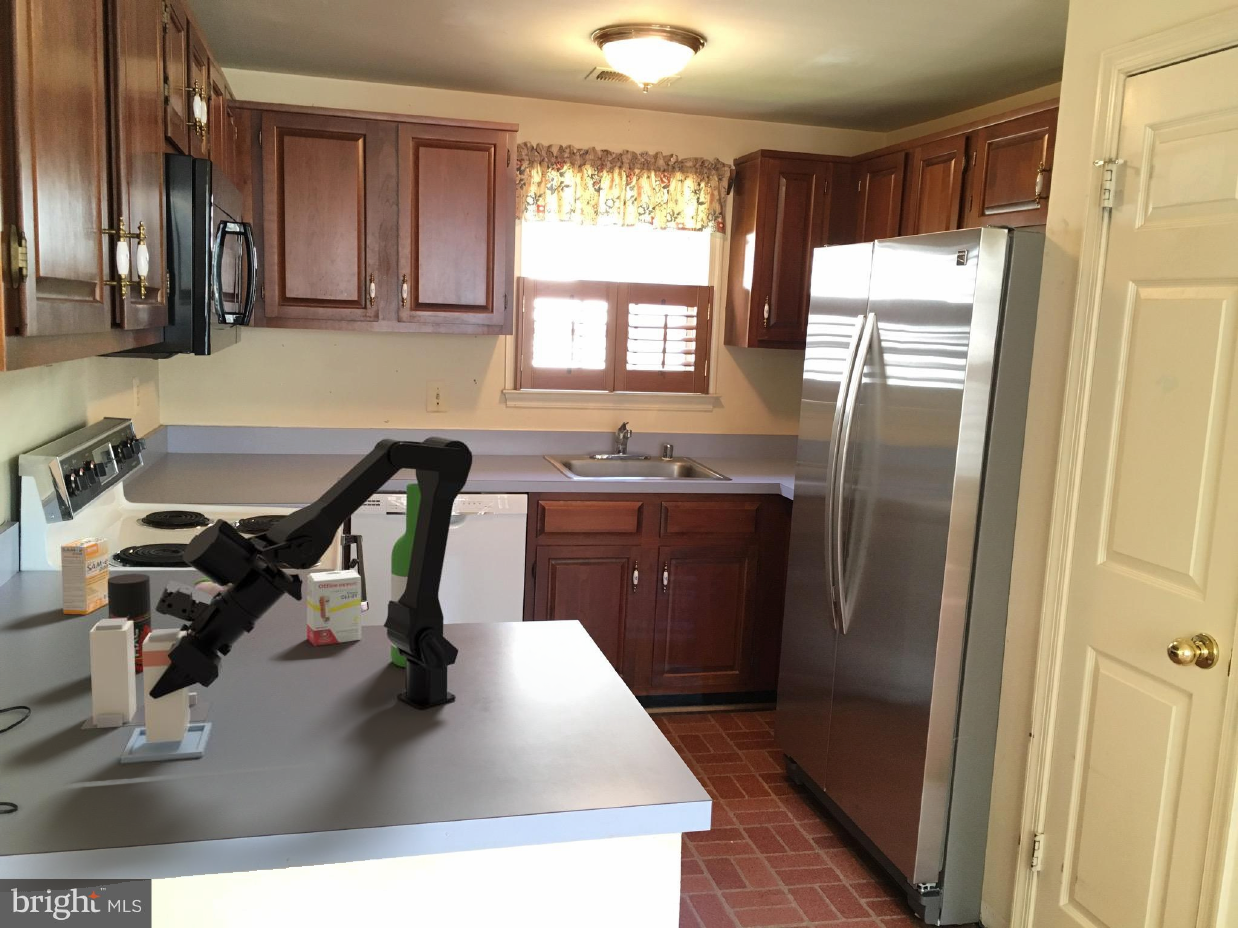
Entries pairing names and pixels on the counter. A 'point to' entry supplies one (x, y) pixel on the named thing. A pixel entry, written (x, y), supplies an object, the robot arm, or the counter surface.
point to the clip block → (196, 713)
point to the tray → (167, 746)
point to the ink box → (333, 607)
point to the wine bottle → (404, 557)
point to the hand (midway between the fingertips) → (155, 689)
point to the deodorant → (132, 607)
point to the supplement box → (85, 575)
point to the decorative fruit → (210, 586)
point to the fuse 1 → (113, 668)
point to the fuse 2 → (171, 710)
